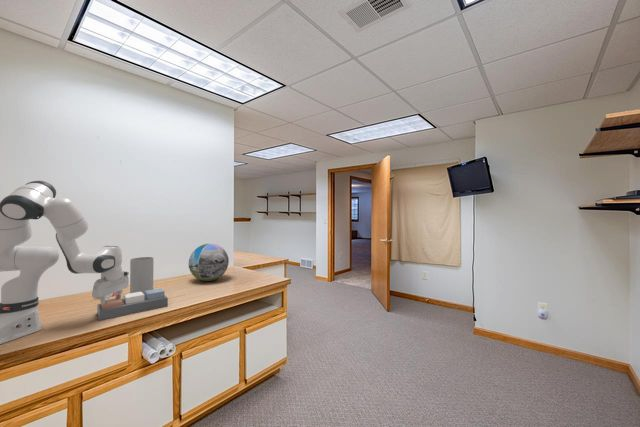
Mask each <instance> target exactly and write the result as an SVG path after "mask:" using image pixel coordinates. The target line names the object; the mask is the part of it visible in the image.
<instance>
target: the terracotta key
mask: <svg viewBox="0 0 640 427" xmlns="http://www.w3.org/2000/svg"><path fill="white" fill-rule="evenodd" d="M106 300H107V303H106V304H104V305H102V304H101V303H100V304H101V305H100V307H101V309H106V308H111V307H116V306H121V305H122V300H123V299H121V298H119V299H116V297H114V298H111V299H109V298H108V299H106Z"/></svg>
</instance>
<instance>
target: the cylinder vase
mask: <svg viewBox="0 0 640 427" xmlns="http://www.w3.org/2000/svg"><path fill="white" fill-rule="evenodd" d="M129 263H130V264H129V265H130V266H129V268H130V269H129V270H130V272H129V277H130V278H129V293H135V292H142V293H143V294H144V296H145V291H147V290H153V289H154V257H152V256H144V257H143V256H141V257H134V258H131V259H130V262H129Z"/></svg>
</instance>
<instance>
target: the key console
mask: <svg viewBox="0 0 640 427" xmlns="http://www.w3.org/2000/svg"><path fill="white" fill-rule="evenodd" d="M168 298H169V297H167V295H165V294H164V297H163V298H158V299H153V300H148V301H147V300H146V299H145V296H144V301H142V302H137V303H132V304H127V305H125V303H124V299H121V300H122V305H121V306H116V307H111V308H106V309H101V307H100V305H101V303H97V306H96V307H97V310H96V311H97V312H96V313H97V317H98V320H99V321H103V320H109V319H113V318H117V317H118V318H119V317H123V316H127V315H132V314H136V313H137V314H138V313H141V312H147V311H150V310H155V309H161V308H165V307H168V303H169V302H168V301H169V299H168Z"/></svg>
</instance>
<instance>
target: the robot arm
mask: <svg viewBox="0 0 640 427" xmlns="http://www.w3.org/2000/svg"><path fill="white" fill-rule="evenodd" d="M56 196H57V190H56V188H55V187H54V186H53V185H52V184H51V183H49V182H47V181H44V180H33V181H29V182H27V183H25V184H24V185H21V186H19V187H18V188H16V189H15V190H14V191H12V192H11V193H10V194H9V195H7V196H5V197H4V198H0V273H1V272H12V271H15V272H16V271H20V272H19V275H18V276H16V277H13V278H11V279H9V280H8V281H6V282H4V283H3V284H2V285H1V288H0V345H1V344H5V343H9V342H10V341H14V340H16V339H20V338H22V337H25V336H28V335H30V334H31V335H32V334H33V333H37V332H39V331H41V330H42V327H43V324H42V322H41V320H40V315H39V308H38V306H39V297H38V290H39V288H38V287H39V281H40V279H41V277H42V275H43V274H44V273H45V272H46V271H47V270H48V269H50V268H52V267H53V266H54V265H55V264H56V263H57V262H58V261H59V258H60V254H59V251H58V249H56V248H55V246H48V245H25V246H24V245H23V246H20V245H22V244H24V243H25V242H27V241H29V240H30V239H31V238H32V236H33V232H32V227H31V223H30V220H39V219H41V218H42V217H45V218H46V219H48V221H49V223H50V224H51V226H52V227H53V228H54V231H55V232H56V233H55V240H56V242H57V244H58V246H59V248H60V250H61V251H62V254H63V256H64V258H65V261H66V266H67V269H68V271H69V272H70V273H72V274H100V278H98V279H96V280H95V281H94V284H93V287H92V293H91V294H92V295H91V296H92V298H93V299H99V301H100V304H102V305H104V304H106V303H107V300H108V299H104V298H105V296H106V295H109V294H111V293H114V292H118V293H117V295H115V298H116V299H119V298H120V299H121V297H122V293H123V290H124V289H127V288H128V287H129V285H130V278H129V276H130V272H129V271H126V270H122V262H123V254H122V249H121V247H120V246H117V245H104V246H102V249H100V250H99V251H98V252H96V253H84V252H82V250H80V247H79V245H78V243H77V241H76V239H79V238H80V237H82V236H83V235H85V234H86V232H87V231H88V229H89V224H88V220H87V219H86V217H85V216H84V214H83V212H82V211H81V210H80V209H79V207H78V206H77V205H76V204H75V202H73V201H72V200H71V199H70V198H67V197H56Z"/></svg>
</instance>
